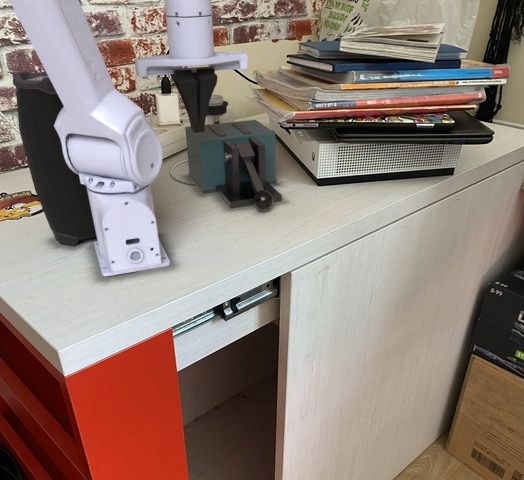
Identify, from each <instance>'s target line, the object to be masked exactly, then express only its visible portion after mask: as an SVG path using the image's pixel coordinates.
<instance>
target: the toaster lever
mask: <svg viewBox="0 0 524 480" xmlns="http://www.w3.org/2000/svg"><path fill="white" fill-rule="evenodd" d="M235 145H236V146H237V147H238V148H239V169H243V168H245V170H246V173H247V175H248V178H249V180H250V182H251V185H252V187H253V189H254V192H255V196H254V199H253V201H254V205H253V206H254V207H255V208H256V209H257V210H259V211H264V212H265V211H268V210H269V209H270V208H271V207H272V206H273V205H274V204H273V203H274V202H273V197H272V195H271V193H270V192H268V191H266V190H264V188H263V186H262V184H261V181H260V179H259V177H258V174H257V172H256V170H255V167H254V165H253V164H254V158H255V154H254V151H253V149H252V147H251V144H250V142H242V143H235Z"/></svg>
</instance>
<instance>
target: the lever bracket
mask: <svg viewBox="0 0 524 480" xmlns="http://www.w3.org/2000/svg"><path fill="white" fill-rule="evenodd" d="M249 142H250V144H251V147H252V149H253V151H254V154H255V158H254V164H253V165H254V167H255V170H256V172H257V174H258V177H259V179H260V181H261V184H262V186H263V188H264V190H266V191H268V192H270V193H271V195H272V197H273V203H279V202H282V194H281V193H280V191H278V190H276V188H275V187H274V186H272V184H271V185H270V184H269V183H268V182H267V181H265V145H264V144H263V143H262V142H260V141H259V140H258V139H256V138H255V137H254V138H249ZM223 146H224V165H225V184H222V185H216V192H215V193H216V194H217V195H218V196H219V197H220V199H221V200H222V201H223V202H224V203H225V204H226V206H227V207H228V208H229V209H231V210H232V209H240V208H245V207H252V206H255V205H254V201H253V199H254V196H255V192H254V189H253V187H252V185H251V182H250V181H244V182H240V171H239V148H238V147H237V146H236V145H235V144H233V143H232V142H231V141H230V140H227V141H223Z"/></svg>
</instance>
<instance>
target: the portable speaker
mask: <svg viewBox="0 0 524 480" xmlns="http://www.w3.org/2000/svg"><path fill="white" fill-rule="evenodd" d="M12 84H13V86H14V87H15V97H16V109H17V119H18V120H17V121H18V130H19V131H18V132H19V134H20V138H21V142H22V146H23V150H24V154H25V158H26V162H27V164H28V169H29V173H30V177H31V180H32V184H33V187H34V188H33V189H34V191H35V193H36V196H37V199H38V200H39V204H40V206H41V208H42V211H43V214H44V216H45V218H46V221H47V223H48V225H49V228H50V230H51V231H52V234H53V237H54V239H55V240H56V241H57V242H58V243H59V244H60V245H65V246H71V247H75V246H76V245H78V243H79V241H82V240H87V239H91V238H97V236H96V231H95V226H94V221H93V216H92V212H91V207H90V202H89V197H88V192H87V186H86V185H84V184H81V182H80V178H79V175H78V174H76V173H74V172H73V171H72V170H71V169H70V168H69V167H68V165H67V163H66V161H65V158H64V155H63V149H62V143H61V140H60V137H59V135H58V133H57V131H56V129H55V127H54V124H55V121H56V119H57V116H58V114H59V112H60V111H61V109H62V108H63V107H64V106H63V104H62V102H61V100H60V98H59V96H58V94H57V92H56V90H55V88H54V86H53V84H52V82H51V80H50V78H49V77H48V75H47V73H46V71H40V72H29V71H27V70H21V71H20V70H19V71H15V72H12Z"/></svg>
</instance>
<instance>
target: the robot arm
mask: <svg viewBox="0 0 524 480" xmlns="http://www.w3.org/2000/svg"><path fill="white" fill-rule="evenodd" d="M8 1H9V3H10V5H11V7H12V9H13V11H14V13H15V15H16V16H17V19H18V20H19V23H20V24H21V26H22V28H23V30H24V32H25V34H26V36H27V38H28V39H29V41H30V43H31V45H32V47H33V49H34V51H35V53H36V55H37V57H38V59H39V61H40V64H41V65H42V67H43V68H44V70H45V71H46V73H47V75H48V77H49V78H50V80H51V82H52V84H53V86H54V88H55V90H56V92H57V94H58V96H59V98H60V100H61V102H62V104H63V106H64V107H63V108H62V109H61V111H60V112H59V114H58V116H57V119H56V121H55V124H54V127H55V129H56V131H57V133H58V135H59V137H60V140H61V143H62V149H63V155H64V158H65V161H66V163H67V165H68V167H69V168H70V169H71V170H72V171H73V172H74V173H76V174H78V175H79V178H80V182H81V184H84V185H86V186H87V192H88V197H89V202H90V207H91V212H92V216H93V221H94V226H95V231H96V236H97V237H96V240H95V241H94V242H93V246H94V250H95V253H96V257H97V260H98V264H99V267H100V272H101V275H102V276H103V277H105V278H106V277H112V276H113V277H114V276H118V275H119V276H120V275H123V274H124V275H125V274H130V273H136V272H141V271H146V270H147V271H148V270H153V269H158V268H165V267H169V266H171V260H170V258H169V255H168V254H167V252H166V250H165V248H164V246H163V244H162V242H161V240H160V238H159V230H158V229H159V228H158V223H157V217H156V215H155V207H154V199H153V193H152V191H153V190H152V185H151V184H152V183H154V182H156V178H157V177H158V175H159V173H160V171H161V169H162V165H163V160H164V159H163V158H164V151H163V145H162V141H161V139H160V136H159V134H158V132H157V130H156V129H155V128H154V127H153V126H152V125H151V124H150V123H149V122H148V120H147V118H146V115H145V113H144V110H143V109H142V108H141V106H139V105H138V104H136V103H135V102H134V101H132V100H131V99H129V98H128V97H126V95H124V94H123V93H121V92H120V91H118V89H117V88H116V87H115V84H114V82H113V79H112V77H111V74H110V73H109V70H108V67H107V65H106V62H105V60H104V57H103V55H102V53H101V51H100V48H99V45H98V44H97V41H96V39H95V36H94V34H93V32H92V29H91V27H90V24H89V22H88V19H87V17H86V15H85V12H84V10H83V7H82V5H81V3H80V0H8ZM163 1H164V2H163V3H164V10H165V11H164V12H165V21H166V23H165V24H166V30H167V31H166V32H167V41H168V42H167V43H168V52H169V54H162V55H153V56H146V57H145V56H144V57H135V58H134V67H135V73H136V76H137V77H138V78H147V77H149V76H150V77H151V76H163V75H170V78H171V81H172V82H173V84H174V85H175V87H176V88H175V89H176V90H177V92H178V93H179V96H180V97H181V101H182V103H183V105H184V107H185V110H186V113H187V117H188V120H189V124H190V125H189V126H191V130H192V131H193V132H194V133H198V132H204V131H205V125H206V120H207V117H206V114H207V110H208V106H209V102H210V99H211V96H212V95H213V93H214V91H215V88H216V86H217V84H218V74H216V72H219V71H234V70H240V71H244V70H245V71H247V70H249V54H248V52H246V51H243V50H242V51H215V45H214V25H213V6H212V5H213V4H212V0H163Z"/></svg>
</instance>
